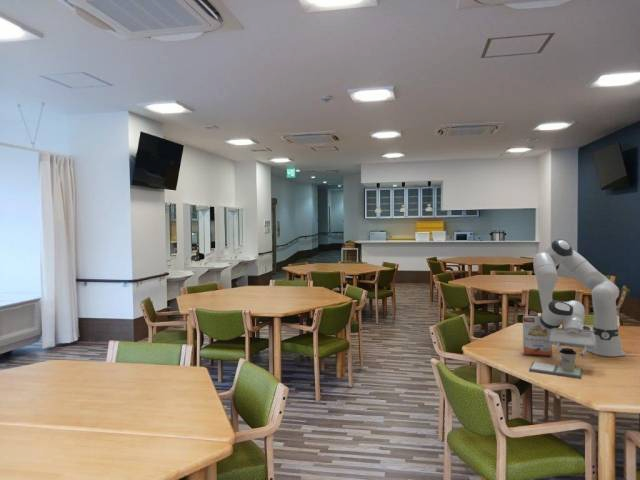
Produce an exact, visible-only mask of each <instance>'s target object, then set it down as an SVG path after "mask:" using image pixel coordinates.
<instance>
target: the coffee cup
mask: <svg viewBox="0 0 640 480" xmlns="http://www.w3.org/2000/svg"><path fill="white" fill-rule="evenodd" d="M576 356H577V352H576V351H575V350H574V349H573V348H571V347H570V348H569V347H563V348H562V350H560V358H561V360H560V361H561V366H562V368H563V370H564V371H570V372H571V371H574V368H575V363H576V362H575V360H576Z"/></svg>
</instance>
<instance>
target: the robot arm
mask: <svg viewBox="0 0 640 480" xmlns="http://www.w3.org/2000/svg"><path fill="white" fill-rule="evenodd" d="M532 260H533V261H532V265H533V271H534V275H535V279H536V280H535V281H536V284H537V290H538V297H539V303H540V304H539V305H540V311H541V315H540V316H541V317H540V321H541V323H542V325H543V326H545V327H546V328H548V329H551V330H550V338H549V341H550V343H551V344H552V346H553V345H554V346H556V347H557V349H558V353H560V350H562V349H563V348H562V347H567V348H569V347H570V348H578V349H582V350H580V356H585V353H586V352H589V353H592V354H594V355H597V356H602V357H603V356H604V357H622V356H623V357H625V356H627V353H626V352H625V351H623V344H622V343H623V342H622V339H621V338H620V337H619V333H620V332H619V328H618V311H617V303H616V302H617V301H616V300H617V299H618V298H619V296H620V289H619V287H618V286H617V285H616V284H615V283H613V282H612V280H610V279H609V278H608V277H606V276H605V275H604V274H603V273H602V272H600V271H599V270H598V269H596V268H595V266H593V265H592V264H591V263H590V262H589V261H588V260H587V259H586V258H585V257H584V256H582V255H581V254H580V253H579V252H577V251H575V250H574V249H573V247H572V246H571V244H570V243H569V242H568V241H567V240H565V239H561V238H557V239H555V240H554V241H552V242H551V243H550V244H549V245H548V246H547V247H546V248H544V250H543V251H541V252H538V253H537V254H535V255H534V256H533V259H532ZM560 264H561V265H563V266H564V267H565V269H566V270H567V271H568V272H569V273H570V274H571V275H572V276H573V278H575V279H576V280H577V281H578V282H579V283H580V284H581V285H583V286H584V287H586V289H588V290H589V291H590V292H591V301H592V311H593V326H592V327H591V326H588V325H585V323H584V322H585V320H586V318H585V317H586V310H585V306H584V304H583V303H582V302H580V301H577V300H569V301H561V300H554V299H553V294H554V290H555V287H556V286H557V282H558V271H557V270H558V269H557V266H559V265H560ZM562 321H563V322H564V328H562V327H561V326H562ZM561 346H562V347H561ZM560 354H561V353H560Z"/></svg>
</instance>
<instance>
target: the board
mask: <svg viewBox="0 0 640 480" xmlns="http://www.w3.org/2000/svg"><path fill="white" fill-rule="evenodd" d="M528 372H532V373H537V374H538V373H540V374H546V375H552V376H559V377H567V378H573V379H582V377H583V376H582V375H583V373H584V370H583V368H579V367H574V371H571V372H570V371H564V370H563V368H562V365H558V364H550V363H544V362H536V361H533V362H532V364H531V365H530V367H529V369H528Z"/></svg>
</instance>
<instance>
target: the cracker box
mask: <svg viewBox="0 0 640 480" xmlns="http://www.w3.org/2000/svg"><path fill="white" fill-rule="evenodd" d="M540 317H541V315H523V316H522V332H523V333H522V335H523V336H522V339H523V341H522V343H523V344H522V345H523V346H522V347H523V350H522V351H523V354H527V355H528V354H529V355H539V356H550V357H551V356H553V345H552V344H551V343H550V341H549V338H550V330H551V329H548V328H546V327H545V326H543V325H542V323H541V321H540Z"/></svg>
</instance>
